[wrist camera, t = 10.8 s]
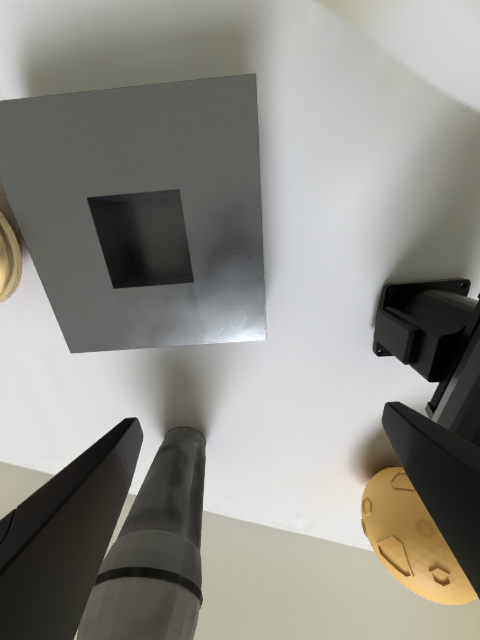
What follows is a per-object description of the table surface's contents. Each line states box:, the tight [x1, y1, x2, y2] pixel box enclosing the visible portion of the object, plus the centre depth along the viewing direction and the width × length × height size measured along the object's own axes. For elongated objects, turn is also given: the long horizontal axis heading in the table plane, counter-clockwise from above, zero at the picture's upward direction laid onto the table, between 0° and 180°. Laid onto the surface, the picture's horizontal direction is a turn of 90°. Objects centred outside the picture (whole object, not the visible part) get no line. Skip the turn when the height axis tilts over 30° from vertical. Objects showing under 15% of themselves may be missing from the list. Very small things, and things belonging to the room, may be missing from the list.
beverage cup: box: [77, 427, 206, 640], centre depth 16 cm, size 7×7×20 cm
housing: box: [0, 73, 267, 353], centre depth 16 cm, size 14×14×4 cm
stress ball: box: [361, 467, 478, 605], centre depth 23 cm, size 10×10×10 cm
